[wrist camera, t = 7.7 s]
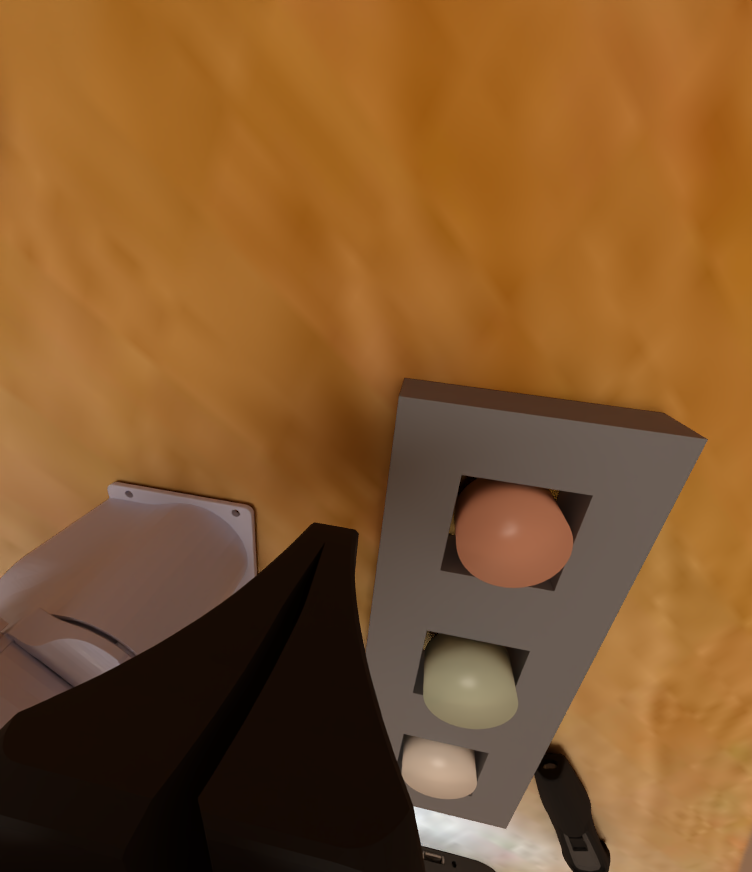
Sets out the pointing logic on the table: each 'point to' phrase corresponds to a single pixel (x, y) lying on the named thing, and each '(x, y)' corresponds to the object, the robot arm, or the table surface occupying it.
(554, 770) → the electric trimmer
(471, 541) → the terracotta button
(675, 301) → the table surface
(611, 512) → the button panel
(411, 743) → the cream button
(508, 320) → the table surface
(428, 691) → the sage button
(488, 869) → the media streaming box
